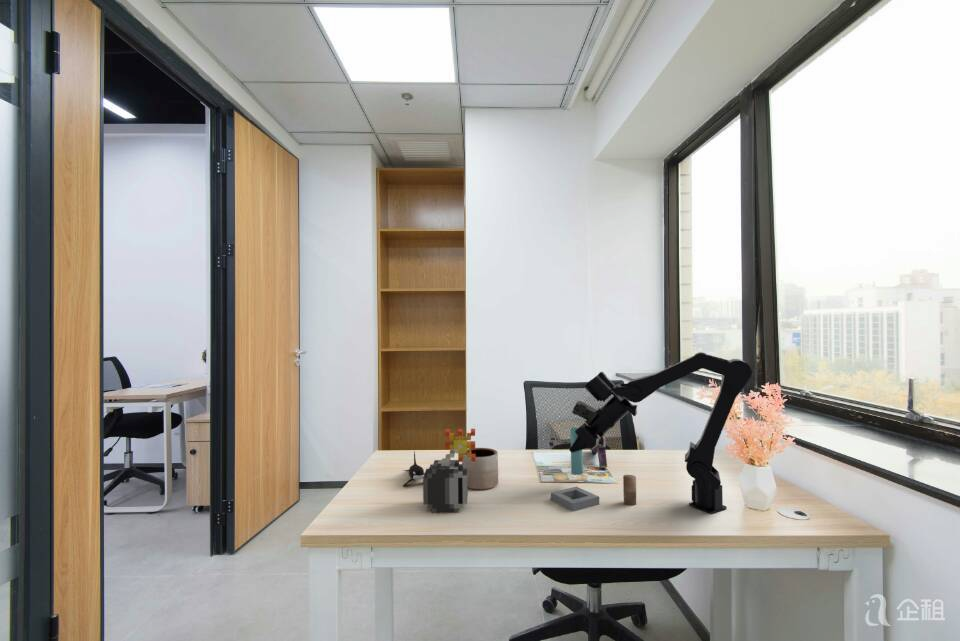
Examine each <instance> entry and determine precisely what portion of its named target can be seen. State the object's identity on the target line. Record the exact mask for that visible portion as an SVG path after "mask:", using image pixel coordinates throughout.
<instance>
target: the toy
mask: <svg viewBox="0 0 960 641" xmlns="http://www.w3.org/2000/svg"><path fill="white" fill-rule="evenodd" d="M403 472H408V473H409V474H408V475H409V477H410V479H408V480H407V481H406V482H405V483H403V485H402V487H405V486H406V485H408V484H409V483H410V482H412V481H420V480H423V477H424V474H425V470H424V468H423V467H422V466H420V465H418V464H417V461H416V452H415V451H413V464H412V465H411V466H410V467H409V469H405V470H403Z"/></svg>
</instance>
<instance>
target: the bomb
mask: <svg viewBox="0 0 960 641" xmlns="http://www.w3.org/2000/svg"><path fill="white" fill-rule="evenodd" d="M463 433H464V432H463V428H458V429H457V436H456V437H455V432H451V428H445V431H444V437H449V438H448V439H449V440H448V441H445V445H444V447H445V448H444V449H445V450H449V453H446V454H445V458H441V459H435V460H434V461H433V464H430V465H429V467H428V468H426V469H425V470H424V473H425V474H424V477H423V479H422V500H423V502H422V503H423V504H422V505H427V510H431V514H459V512H460V510H459V509H464V505H468V492H469V491H468V489H469V488H468V477H467V468H463V464H462V462H463V453H467V457H471V462H475V454H471V450H467V449H475V448H476V441H475V440H474V441H473V440H472V437H475V436H476V428H470V432H467V433H466V436H463V435H464V434H463ZM455 454H457V457H458V458H457V459H453V458H455ZM451 458H452V459H451Z"/></svg>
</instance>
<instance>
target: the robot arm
mask: <svg viewBox="0 0 960 641" xmlns="http://www.w3.org/2000/svg"><path fill="white" fill-rule="evenodd" d="M702 369H703V370H707V371H710V372H712V373H715V374H718V375H721V380H720V381H721V382H720V386H719V387H720V389H719V392H718V395H717V397H716V399H715V402H714V404H713V405H712V406H713V407H712V408H711V411H710V414H709V417H708V419H707V420H706V421H707V422H706V423H705V426H704V429H703V431H702V434H701V435H700V438H699V439H698V441H697V442H696V443H694V442H693V441H690V443H689V446H688V450H687V452H686V453H685V454H684V462H685V464H686V465H685V466H686V467H685V468H686V472H687V473H688V475H689V476H690V477H691V478H693V480H692V485H691V501H690V502H689V503H688V505H689V506H690V507H694V508H696V509H699V510H700V511H703V512H706V513H709V514H714V513H716V512H720V511H723V510H726V509H727V505H723V501H724V500H723V484H721V477H720V471H718V470H717V469H716V467H714V466H713V464H714V457H715V450H716V447H717V444H718V441H719V440H720V437H721V434H722V432H723V429H724V427H725V424H726V422H727V420H728V418H729V415H730V413H731V410H732V408H733V405H734V403H735V400H736V398H737V397H738V396H739V395H740V394H741V392H742V391H743V390H744V388H745V387H746V386H747V384H748V383H749V381H750V379H751V377H752V374H753V371H752V367H751V366H750V365H749V364H748V363H747V362H746V361H744V360H742V359H739V358H732V359H730V360H729V359H725V358H722V357H718V356H715V355H710V354H707V353H705V352H703V351H700V352H697V353H695V354H694V355H693V356H690V357H688V358H686V359H684V360H682V361H680V362H677V363H675V364H673V365H670V366H669V367H667V368H664V369H662V370H660V371H658V372H656V373H653V374H649V375H644V376H641V377H636V378H634V379H631V380H630V381H628V382H627V383H618V384H617V383H616V384H615V383H614V382H613V381H611V379H609V378H608V376H607V375H606V373H604V371H599V373H598V374H597V375H596V376H594V377H593V378H591V379H590V380H589V381H588V382H587V383H586V384H585V385H584V386H583V388H584V389H585V390H586V391H587V392H588V393H589V394H590V395H591V396H592V397H593V398H594V399H595V400H596V401H597V402H603V403H604V405H603V406H602V407H599V408H598V409H595V408H594V407H593V406H591V405H589V404H587V403H585V402H583V401H582V400H577V401H576V402H575V405H574V406H573V408H572V411H571V413H572V414H573V415H575V416H578V417H581V418H582V419H584V420H585V421H584V423H582V424H581V425H580V426H578V427H579V428H578V429H577V430H576V431H575V433H576V434H577V435H578V437H577V439H576V440H575V442H574V443H573V445H572V446H571V445H570V448H569V451H570V453H571V452H575V451H579V450H582V451H583V450H584V449H588V448H589V450H590V449H592V448H593V447H595V446H596V445H597V443H598V442H599V436H600V437H602V436H603V437H604V435H605V434H606V433H608V431H609V430H611V429H612V428H613V427H615V425H616V424H617V423H618V422H620V421H621V419H623V418H624V417H625V416H626V415H627V414H629V413H630V414H631V415H632V416H633V417H636V416H637V414H638V411H637V410H638V409H637V408H638V404H635V403H640V402H642V401H643V400H644V399H646V398H647V397H649V396H651V395H652V394H653V393H654V392H656V391H657V390H659V389H660V388H662V387H664V386H667V385H668V384H672V382H675V381H677V380H679V379H682V378H684V377H686V376H688V375H690V374H692V373H695V372H697V371H700V370H702ZM611 396H612V397H611ZM610 397H611V398H610ZM622 397H624V398H622ZM609 398H610V399H609ZM608 399H609V400H608ZM606 400H608V401H607V402H606V403H605V401H606ZM632 403H634V404H632Z"/></svg>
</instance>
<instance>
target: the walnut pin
mask: <svg viewBox="0 0 960 641" xmlns="http://www.w3.org/2000/svg"><path fill="white" fill-rule="evenodd" d="M622 477H623V478H622V479H623V480H622V481H623V482H622V483H623V489H622V490H623V491H622V492H623V504H624V505H626V506H631V507H633V506H636V505H637V477H636V476H635V475H633V474H624V475H623V476H622Z"/></svg>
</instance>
